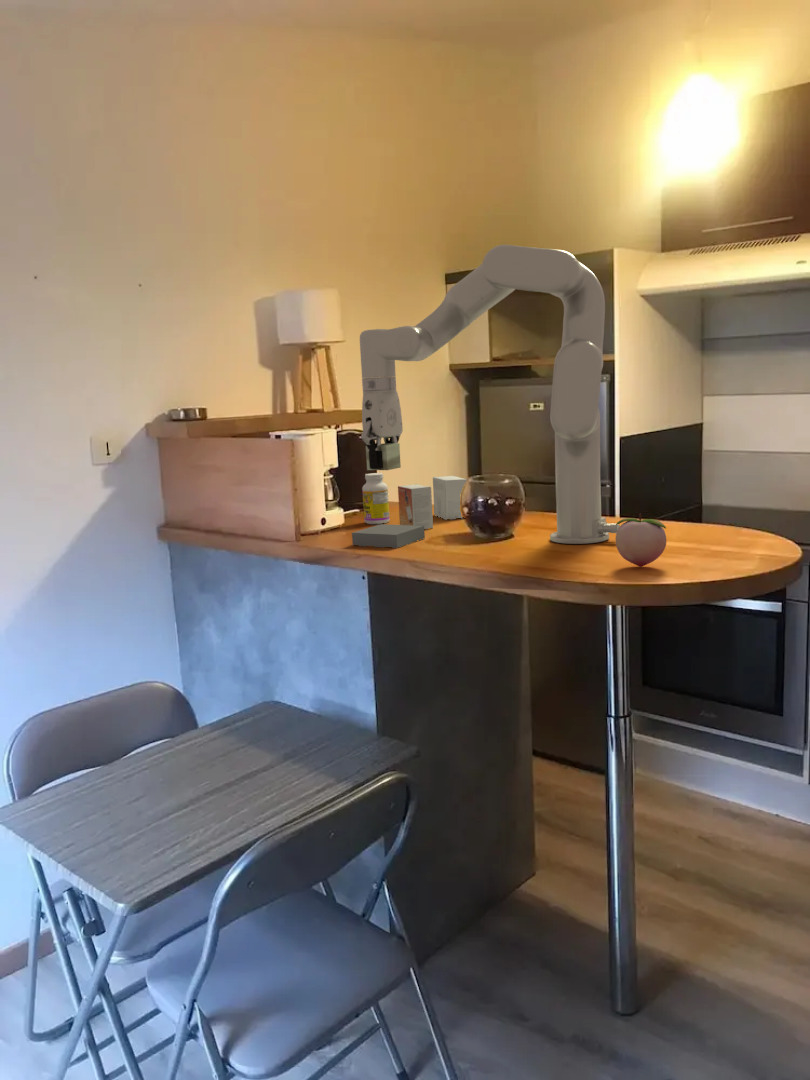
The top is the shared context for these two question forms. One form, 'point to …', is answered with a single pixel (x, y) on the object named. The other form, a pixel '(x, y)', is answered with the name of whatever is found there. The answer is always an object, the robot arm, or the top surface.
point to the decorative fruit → (640, 540)
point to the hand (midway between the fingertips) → (383, 466)
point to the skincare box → (447, 496)
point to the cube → (388, 456)
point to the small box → (415, 505)
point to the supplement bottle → (375, 499)
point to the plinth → (388, 535)
